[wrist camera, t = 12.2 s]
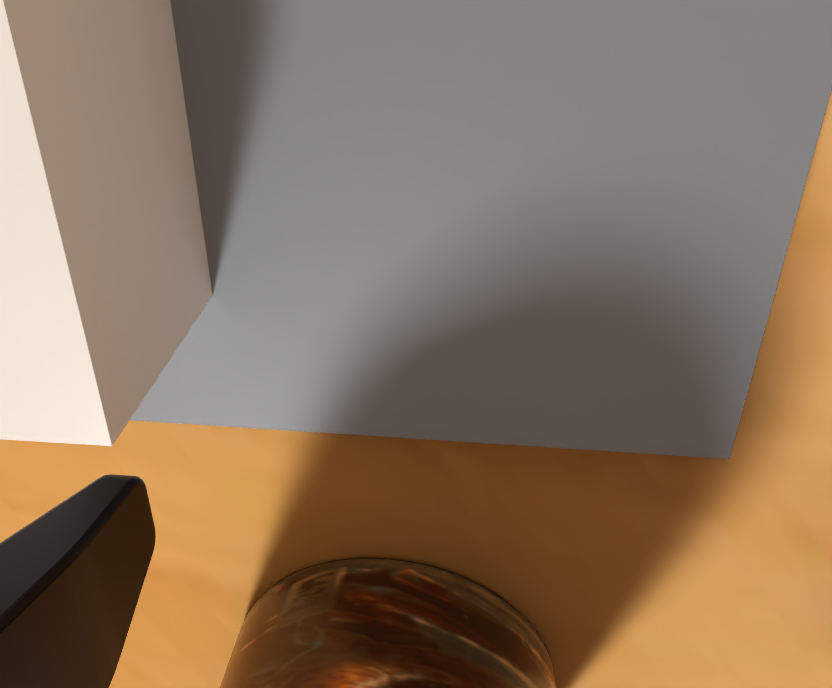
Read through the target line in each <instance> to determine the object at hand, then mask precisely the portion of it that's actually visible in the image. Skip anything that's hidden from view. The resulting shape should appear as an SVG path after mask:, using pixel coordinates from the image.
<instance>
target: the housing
mask: <svg viewBox="0 0 832 688" xmlns="http://www.w3.org/2000/svg"><path fill="white" fill-rule="evenodd" d="M212 296H213V295H212V288H211V281H210V274H209V267H208V260H207V253H206V246H205V239H204V232H203V225H202V218H201V211H200V204H199V197H198V190H197V183H196V176H195V169H194V162H193V155H192V148H191V141H190V134H189V128H188V121H187V114H186V107H185V100H184V93H183V86H182V79H181V72H180V65H179V58H178V51H177V44H176V37H175V30H174V23H173V16H172V9H171V2H170V0H0V439H6V440H22V441H38V442H55V443H71V444H87V445H103V446H112V445H113V444H114V442H115V441H116V439H117V438H118V436H119V435H120V433H121V432H122V430H123V429H124V427H125V426H126V424H127V423H128V421H129V420H130V418H131V417H132V415H133V414H134V412H135V411H136V409H137V408H138V406H139V405H140V403H141V402H142V400H143V399H144V397H145V396H146V394H147V393H148V391H149V390H150V388H151V387H152V385H153V384H154V382H155V381H156V380H157V378H158V377H159V375H160V374H161V372H162V371H163V369H164V368H165V366H166V365H167V363H168V362H169V360H170V359H171V357H172V356H173V354H174V353H175V351H176V350H177V348H178V347H179V345H180V344H181V342H182V341H183V339H184V338H185V336H186V335H187V333H188V332H189V330H190V329H191V327H192V326H193V324H194V323H195V321H196V320H197V318H198V317H199V315H200V314H201V312H202V311H203V309H204V308H205V306H206V305H207V303H208V302H209V300H210V299H211V297H212Z"/></svg>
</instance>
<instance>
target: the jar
mask: <svg viewBox="0 0 832 688" xmlns="http://www.w3.org/2000/svg"><path fill="white" fill-rule="evenodd" d="M220 688H556V681H555V675H554V669H553V665H552V662H551V658H550V656H549V653H548V651H547V649H546V647H545V645H544V643H543V641H542V640H541V638H540V636H539V635H538V634H537V632H536V631H535V629H534V628H533V627H532V626H531V625H530V623H529V622H528V621H527V620H526V619H525V618H524V617H523V616H522V615H521V614H520V613H519V612H518V611H517V610H516V609H514V608H513V607H512V606H511V605H509V604H508V603H507V602H506V601H504V600H503V599H501V598H500V597H499V596H497V595H496V594H494V593H492V592H491V591H489V590H487V589H486V588H484V587H482V586H480V585H478V584H476V583H474V582H472V581H470V580H468V579H465V578H463V577H461V576H458V575H456V574H453V573H450V572H447V571H444V570H441V569H438V568H434V567H431V566H427V565H422V564H418V563H413V562H407V561H400V560H390V559H368V558H367V559H349V560H341V561H334V562H329V563H324V564H320V565H316V566H313V567H310V568H307V569H304V570H301V571H299V572H296V573H294V574H292V575H290V576H288V577H286V578H284V579H283V580H281V581H279V582H278V583H276V584H275V585H274V586H272V587H271V588H269V589H268V590H267V591H266V592H265V593H264V594H263V595H262V596H261V597H260V598H259V599H258V600H257V601H256V602H255V604H254V605H253V607H252V608H251V610H250V611H249V613H248V615H247V617H246V619H245V621H244V623H243V625H242V627H241V630H240V633H239V635H238V638H237V641H236V644H235V646H234V649H233V652H232V655H231V658H230V661H229V663H228V666H227V669H226V672H225V675H224V678H223V681H222V684H221V686H220Z"/></svg>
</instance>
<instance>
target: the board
mask: <svg viewBox="0 0 832 688" xmlns="http://www.w3.org/2000/svg"><path fill="white" fill-rule="evenodd" d="M170 2H171V9H172V16H173V23H174V30H175V37H176V44H177V51H178V58H179V65H180V72H181V79H182V86H183V93H184V100H185V107H186V114H187V121H188V128H189V134H190V141H191V148H192V155H193V162H194V169H195V176H196V183H197V190H198V197H199V204H200V211H201V218H202V225H203V232H204V239H205V246H206V253H207V260H208V267H209V274H210V281H211V288H212V295H213V296H212V297H211V299H210V300H209V302H208V303H207V305H206V306H205V308H204V309H203V311H202V312H201V314H200V315H199V317H198V318H197V320H196V321H195V323H194V324H193V326H192V327H191V329H190V330H189V332H188V333H187V335H186V336H185V338H184V339H183V341H182V342H181V344H180V345H179V347H178V348H177V350H176V351H175V353H174V354H173V356H172V357H171V359H170V360H169V362H168V363H167V365H166V366H165V368H164V369H163V371H162V372H161V374H160V375H159V377H158V378H157V380H156V381H155V382H154V384H153V385H152V387H151V388H150V390H149V391H148V393H147V394H146V396H145V397H144V399H143V400H142V402H141V403H140V405H139V406H138V408H137V409H136V411H135V412H134V414H133V415H132V417H131V418H130V420H135V421H151V422H166V423H181V424H197V425H212V426H228V427H243V428H258V429H274V430H289V431H304V432H320V433H335V434H350V435H366V436H381V437H397V438H412V439H427V440H443V441H458V442H473V443H489V444H504V445H519V446H535V447H550V448H565V449H581V450H596V451H612V452H627V453H642V454H658V455H673V456H688V457H704V458H719V459H729V458H730V455H731V451H732V448H733V444H734V440H735V437H736V433H737V429H738V426H739V422H740V419H741V415H742V411H743V408H744V404H745V400H746V397H747V393H748V390H749V386H750V382H751V379H752V375H753V372H754V368H755V364H756V361H757V357H758V353H759V350H760V346H761V343H762V339H763V335H764V332H765V328H766V325H767V321H768V317H769V314H770V310H771V306H772V303H773V299H774V296H775V292H776V288H777V285H778V281H779V277H780V274H781V270H782V267H783V263H784V259H785V256H786V252H787V249H788V245H789V241H790V238H791V234H792V230H793V227H794V223H795V220H796V216H797V212H798V209H799V205H800V202H801V198H802V194H803V191H804V187H805V183H806V180H807V176H808V173H809V169H810V165H811V162H812V158H813V154H814V151H815V147H816V144H817V140H818V136H819V133H820V129H821V126H822V122H823V118H824V115H825V111H826V107H827V104H828V100H829V97H830V93H831V89H832V0H170Z"/></svg>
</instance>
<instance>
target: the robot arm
mask: <svg viewBox="0 0 832 688" xmlns="http://www.w3.org/2000/svg"><path fill="white" fill-rule="evenodd" d="M154 546H155V527H154V522H153V517H152V513H151V508H150V503H149V499H148V494H147V489H146V486H145V483H144V482H143V480H142V479H141V478H139V477H136V476H125V475H105V476H102V477H100V478H99V479H97V480H95V481H94V482H92V483H91V484H89V485H88V486H86V487H85V488H83V489H82V490H80V491H79V492H77V493H76V494H74V495H73V496H71V497H70V498H68V499H67V500H65V501H63V502H62V503H60V504H59V505H57V506H56V507H54V508H53V509H51V510H50V511H48V512H47V513H45V514H44V515H42V516H41V517H39V518H38V519H36V520H35V521H33V522H32V523H30V524H29V525H27V526H25V527H24V528H22V529H21V530H19V531H18V532H16V533H15V534H13V535H12V536H10V537H9V538H7V539H6V540H4V541H3V542H1V543H0V688H109V685H110V683H111V681H112V678H113V676H114V673H115V670H116V667H117V664H118V661H119V658H120V655H121V652H122V649H123V646H124V643H125V640H126V636H127V633H128V630H129V627H130V624H131V621H132V617H133V614H134V611H135V608H136V605H137V602H138V598H139V595H140V592H141V589H142V586H143V582H144V579H145V576H146V573H147V570H148V567H149V563H150V560H151V557H152V554H153V550H154Z"/></svg>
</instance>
